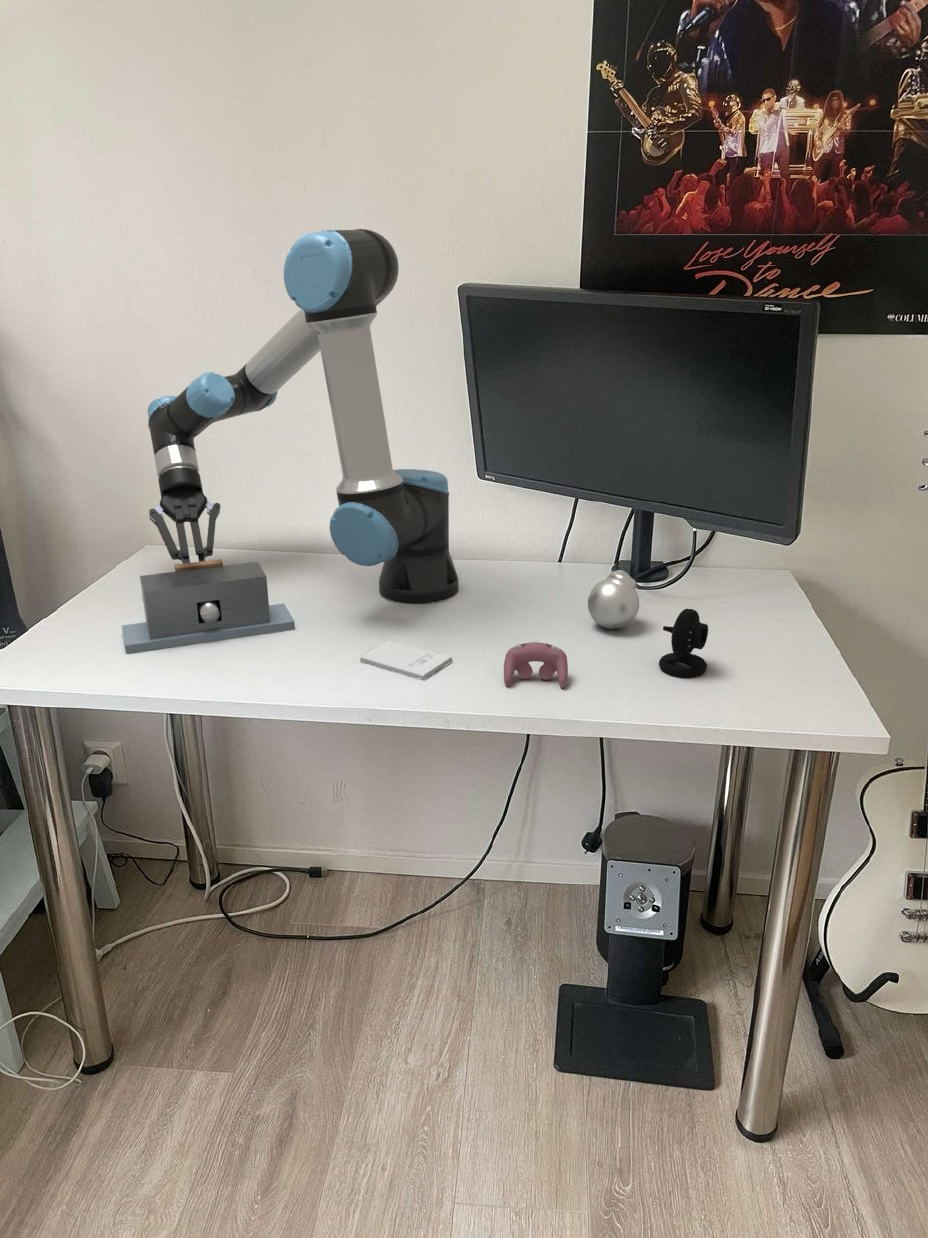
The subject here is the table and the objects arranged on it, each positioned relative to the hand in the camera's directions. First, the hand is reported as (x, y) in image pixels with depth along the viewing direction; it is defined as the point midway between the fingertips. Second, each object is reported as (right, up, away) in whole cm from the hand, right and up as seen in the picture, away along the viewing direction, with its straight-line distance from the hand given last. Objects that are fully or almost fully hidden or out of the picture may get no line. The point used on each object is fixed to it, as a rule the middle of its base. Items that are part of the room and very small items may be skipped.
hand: (199, 591), depth 180 cm
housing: (+3, -7, -5) cm, 9 cm away
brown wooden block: (+3, -7, -4) cm, 8 cm away
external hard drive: (+38, -12, -16) cm, 43 cm away
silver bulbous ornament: (+73, -6, -4) cm, 74 cm away
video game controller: (+58, -15, -23) cm, 64 cm away
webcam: (+82, -13, -19) cm, 85 cm away
